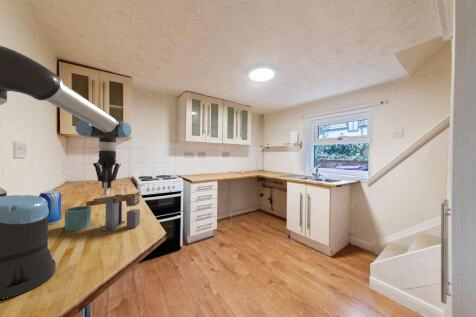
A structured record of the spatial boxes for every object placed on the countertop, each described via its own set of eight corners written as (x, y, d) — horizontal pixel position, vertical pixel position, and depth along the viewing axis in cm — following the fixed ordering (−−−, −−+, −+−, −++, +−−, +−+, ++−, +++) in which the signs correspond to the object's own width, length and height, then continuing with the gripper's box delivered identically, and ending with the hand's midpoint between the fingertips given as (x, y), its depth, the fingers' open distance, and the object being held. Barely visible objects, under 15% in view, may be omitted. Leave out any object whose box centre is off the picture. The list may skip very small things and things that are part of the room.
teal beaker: (81, 230, 86) (81, 211, 85) (59, 231, 85) (59, 211, 84) (95, 223, 95) (95, 205, 95) (75, 223, 94) (75, 206, 94)
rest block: (135, 228, 90) (135, 212, 90) (126, 228, 90) (126, 212, 90) (139, 224, 95) (139, 209, 95) (131, 224, 95) (131, 209, 95)
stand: (113, 230, 86) (113, 199, 86) (101, 231, 86) (102, 199, 86) (125, 222, 97) (125, 194, 97) (114, 222, 97) (115, 194, 96)
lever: (147, 198, 104) (146, 188, 104) (135, 205, 89) (133, 194, 89) (106, 204, 102) (105, 194, 102) (86, 212, 87) (85, 201, 87)
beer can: (33, 224, 91) (33, 192, 91) (54, 219, 99) (55, 189, 99) (43, 227, 89) (44, 194, 88) (64, 221, 97) (65, 191, 96)
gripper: (124, 150, 103) (123, 193, 103) (99, 150, 102) (98, 192, 102) (116, 150, 96) (115, 195, 96) (89, 149, 95) (88, 195, 95)
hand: (106, 194), depth 99 cm, fingers closed
